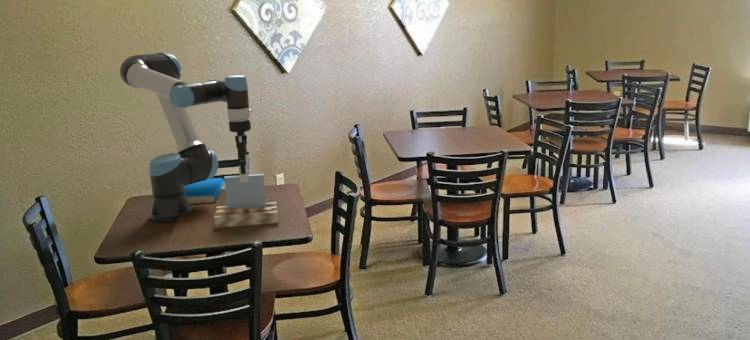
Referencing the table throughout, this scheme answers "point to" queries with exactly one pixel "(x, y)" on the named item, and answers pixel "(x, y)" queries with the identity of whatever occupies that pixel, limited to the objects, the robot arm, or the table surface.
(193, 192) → the book
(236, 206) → the pale blue panel
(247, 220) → the rack
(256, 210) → the offcut right
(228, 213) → the offcut left
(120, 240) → the table surface
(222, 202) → the table surface
